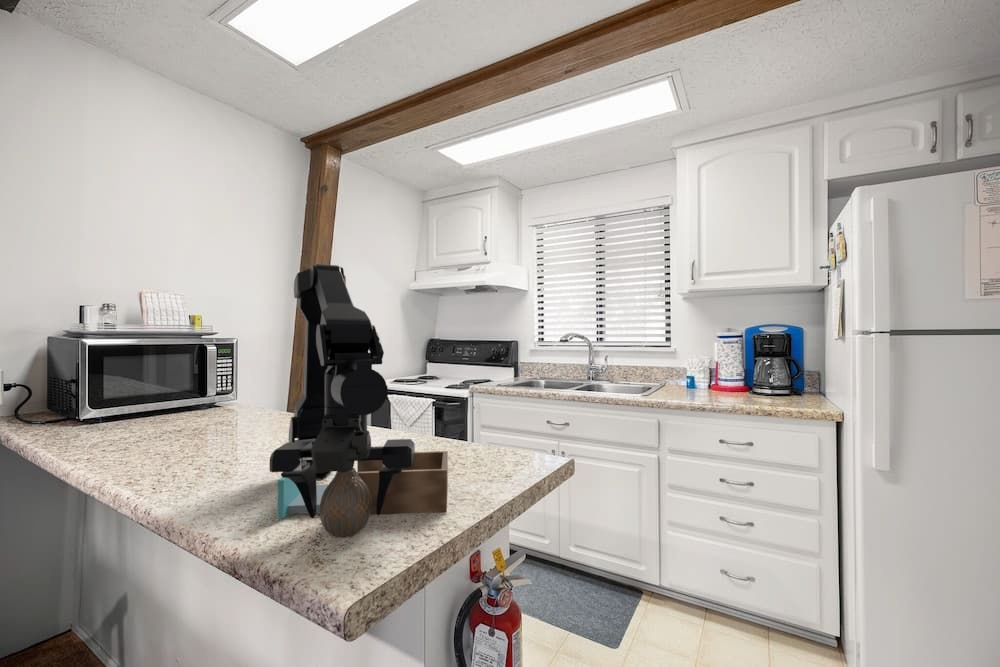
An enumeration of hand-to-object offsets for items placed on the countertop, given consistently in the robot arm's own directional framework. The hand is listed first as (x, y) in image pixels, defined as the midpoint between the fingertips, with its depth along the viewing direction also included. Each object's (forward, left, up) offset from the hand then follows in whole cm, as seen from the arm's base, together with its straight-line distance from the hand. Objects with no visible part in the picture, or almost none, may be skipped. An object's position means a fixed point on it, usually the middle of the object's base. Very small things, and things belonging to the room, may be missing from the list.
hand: (346, 515), depth 62 cm
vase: (0, 0, -2) cm, 2 cm away
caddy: (+6, +11, -2) cm, 13 cm away
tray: (-3, +12, -2) cm, 12 cm away
